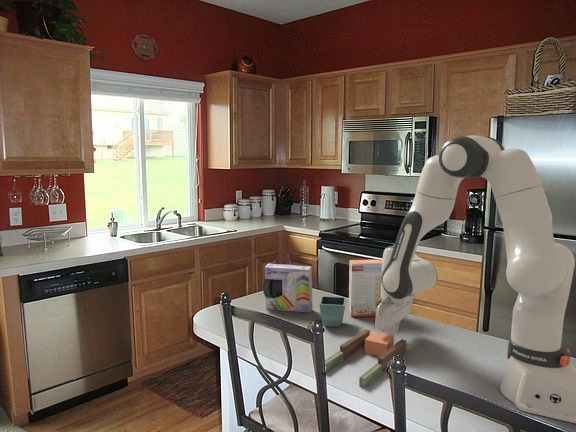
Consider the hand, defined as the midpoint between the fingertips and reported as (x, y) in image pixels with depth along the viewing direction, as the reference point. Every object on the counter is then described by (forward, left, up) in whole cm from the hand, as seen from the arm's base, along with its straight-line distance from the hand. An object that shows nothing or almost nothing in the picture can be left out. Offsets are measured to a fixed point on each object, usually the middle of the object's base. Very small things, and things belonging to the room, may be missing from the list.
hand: (393, 334), depth 147 cm
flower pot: (+23, +1, -2) cm, 23 cm away
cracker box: (+18, -16, -2) cm, 24 cm away
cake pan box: (+45, -1, -2) cm, 45 cm away
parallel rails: (0, +19, -2) cm, 19 cm away
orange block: (0, +10, -2) cm, 10 cm away
